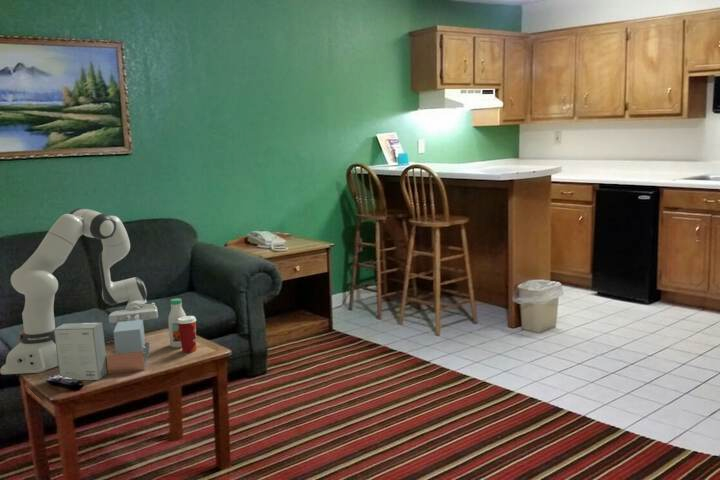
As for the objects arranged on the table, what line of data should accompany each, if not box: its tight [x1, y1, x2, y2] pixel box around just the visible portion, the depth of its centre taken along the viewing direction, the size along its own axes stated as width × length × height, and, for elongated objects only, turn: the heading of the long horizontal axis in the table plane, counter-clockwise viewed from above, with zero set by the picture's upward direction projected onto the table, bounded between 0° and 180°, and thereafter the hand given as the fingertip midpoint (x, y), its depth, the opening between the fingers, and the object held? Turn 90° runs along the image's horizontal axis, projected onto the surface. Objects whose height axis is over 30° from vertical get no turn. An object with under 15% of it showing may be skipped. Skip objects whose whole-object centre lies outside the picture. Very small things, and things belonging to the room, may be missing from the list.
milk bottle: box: [167, 297, 187, 348], centre depth 276 cm, size 8×8×20 cm
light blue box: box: [113, 320, 146, 354], centre depth 266 cm, size 10×14×9 cm
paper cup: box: [177, 315, 197, 354], centre depth 268 cm, size 8×8×14 cm
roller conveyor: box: [106, 342, 150, 375], centre depth 261 cm, size 13×28×7 cm, turn 14°
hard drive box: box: [54, 322, 108, 381], centre depth 243 cm, size 16×8×20 cm, turn 84°
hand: (132, 320), depth 277 cm, fingers closed
